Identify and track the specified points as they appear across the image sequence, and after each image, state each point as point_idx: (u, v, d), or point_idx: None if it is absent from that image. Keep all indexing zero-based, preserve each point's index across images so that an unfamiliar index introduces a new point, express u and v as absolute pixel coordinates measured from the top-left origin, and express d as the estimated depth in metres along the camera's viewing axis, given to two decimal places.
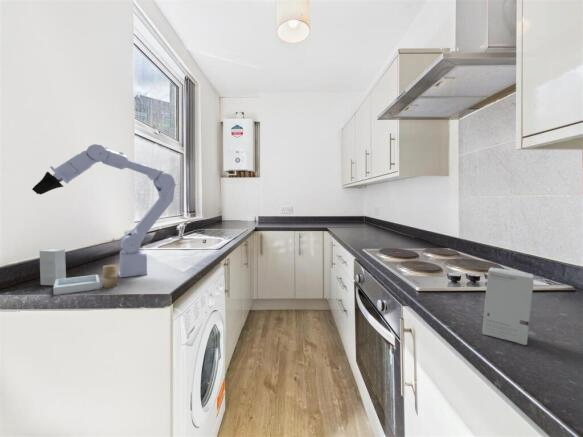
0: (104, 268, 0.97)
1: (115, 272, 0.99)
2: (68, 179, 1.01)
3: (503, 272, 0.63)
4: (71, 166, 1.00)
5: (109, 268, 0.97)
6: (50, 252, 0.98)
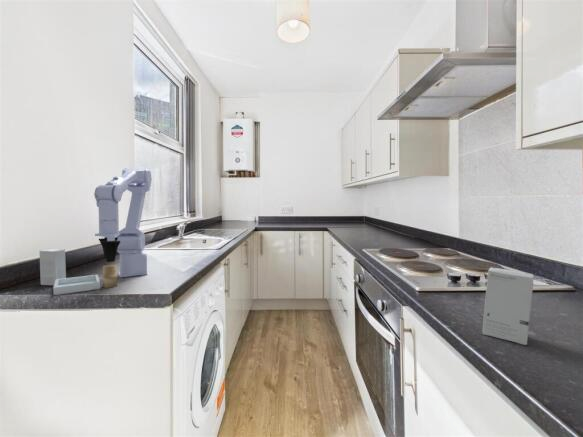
0: (104, 268, 0.97)
1: (115, 272, 0.99)
2: (117, 231, 0.98)
3: (503, 272, 0.63)
4: (107, 221, 0.96)
5: (109, 268, 0.97)
6: (50, 252, 0.98)
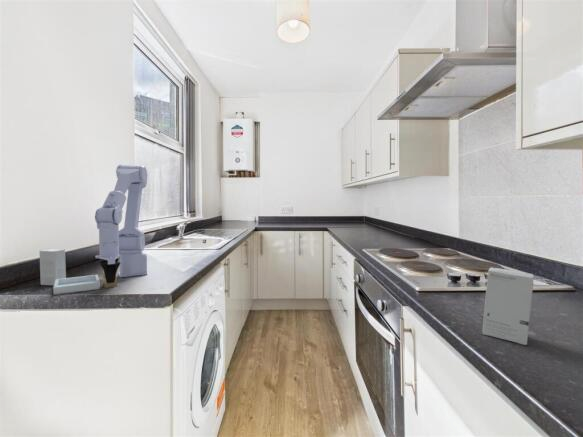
0: None
1: None
2: (117, 253, 0.99)
3: (503, 272, 0.63)
4: (108, 244, 0.96)
5: None
6: (50, 252, 0.98)
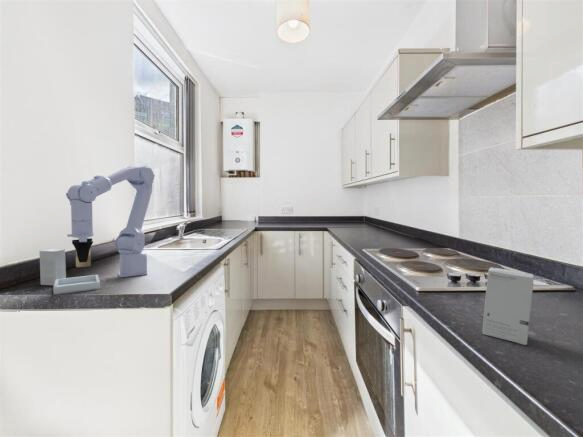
0: None
1: None
2: (90, 232, 0.97)
3: (503, 272, 0.63)
4: (80, 222, 0.94)
5: None
6: (50, 252, 0.98)
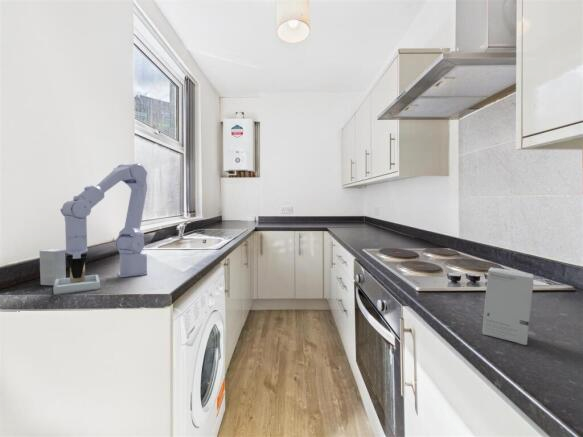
0: None
1: (83, 267, 0.97)
2: (85, 248, 0.97)
3: (503, 272, 0.63)
4: (74, 238, 0.94)
5: None
6: (50, 252, 0.98)
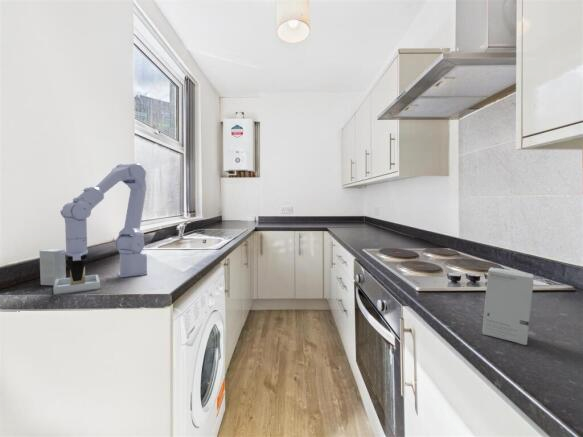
0: None
1: (83, 272, 0.97)
2: (85, 249, 0.97)
3: (503, 272, 0.63)
4: (74, 240, 0.94)
5: None
6: (50, 252, 0.98)
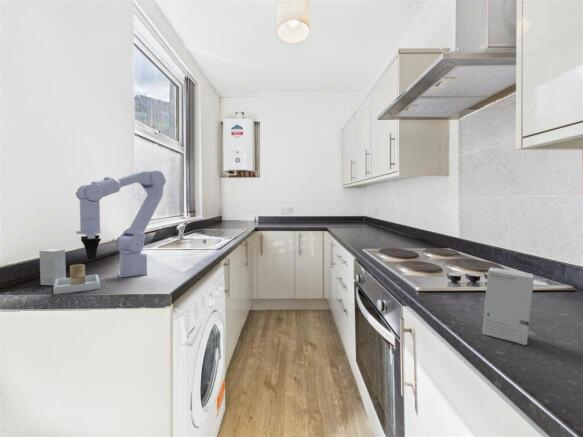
0: (71, 267, 0.95)
1: (83, 272, 0.97)
2: (98, 229, 1.02)
3: (503, 272, 0.63)
4: (88, 219, 0.99)
5: (76, 267, 0.95)
6: (50, 252, 0.98)
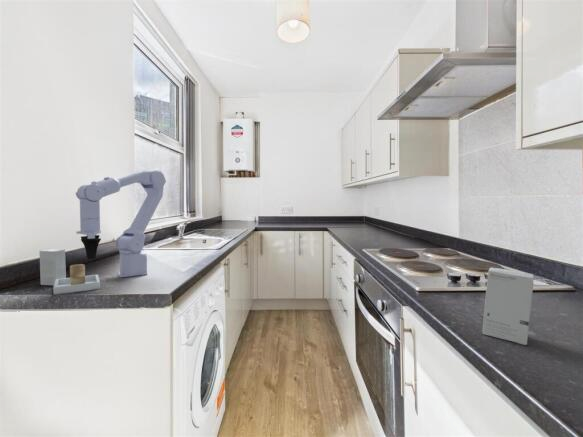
0: (71, 267, 0.95)
1: (83, 272, 0.97)
2: (98, 229, 1.02)
3: (503, 272, 0.63)
4: (88, 219, 0.99)
5: (76, 267, 0.95)
6: (50, 252, 0.98)
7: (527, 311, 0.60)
